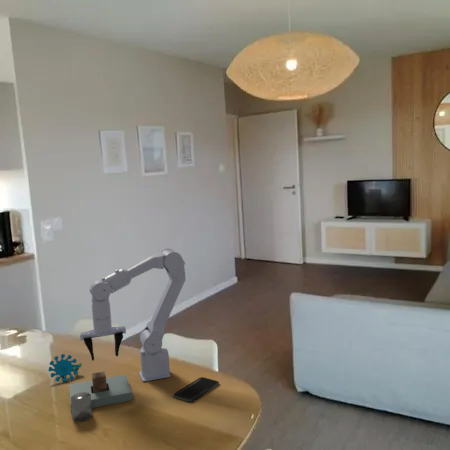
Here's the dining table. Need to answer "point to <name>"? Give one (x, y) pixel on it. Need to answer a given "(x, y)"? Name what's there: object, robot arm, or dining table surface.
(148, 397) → the dining table surface
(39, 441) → the dining table surface
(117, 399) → the socket plate
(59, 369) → the teal spiky virus toy
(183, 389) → the phone
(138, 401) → the dining table surface
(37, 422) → the dining table surface
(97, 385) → the walnut peg
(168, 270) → the robot arm
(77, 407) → the gunmetal plug
